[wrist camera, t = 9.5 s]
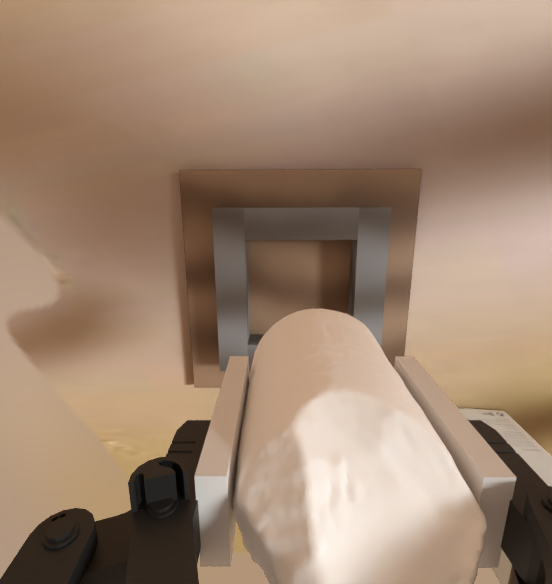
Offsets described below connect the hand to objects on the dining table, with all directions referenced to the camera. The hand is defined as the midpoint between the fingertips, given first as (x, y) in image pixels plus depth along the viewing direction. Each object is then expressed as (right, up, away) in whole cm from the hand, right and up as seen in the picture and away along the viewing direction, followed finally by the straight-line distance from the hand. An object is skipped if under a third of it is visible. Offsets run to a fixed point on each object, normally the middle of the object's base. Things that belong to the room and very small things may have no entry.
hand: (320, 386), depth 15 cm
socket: (0, +5, +18) cm, 19 cm away
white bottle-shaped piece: (0, +1, +2) cm, 2 cm away
